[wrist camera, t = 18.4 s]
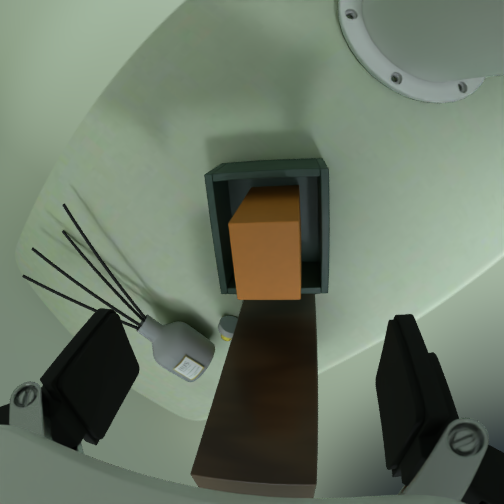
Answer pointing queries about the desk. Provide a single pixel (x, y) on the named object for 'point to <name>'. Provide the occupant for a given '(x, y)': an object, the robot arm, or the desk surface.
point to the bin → (311, 212)
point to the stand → (265, 405)
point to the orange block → (267, 244)
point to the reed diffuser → (157, 326)
